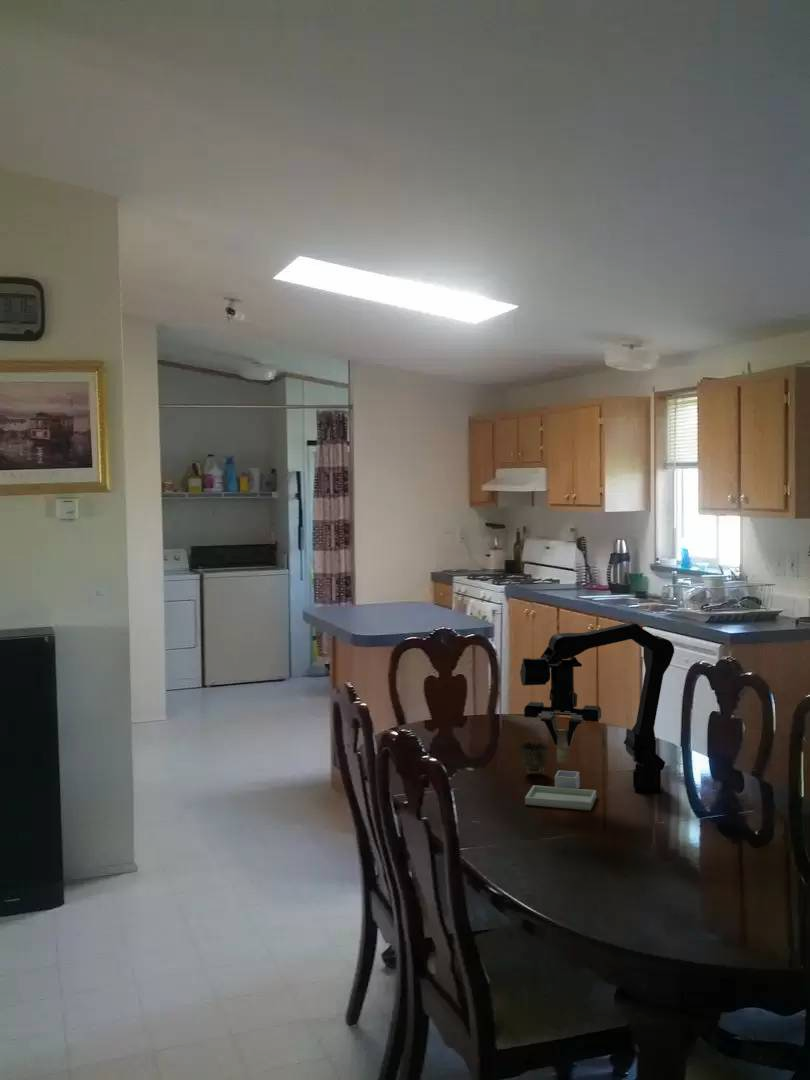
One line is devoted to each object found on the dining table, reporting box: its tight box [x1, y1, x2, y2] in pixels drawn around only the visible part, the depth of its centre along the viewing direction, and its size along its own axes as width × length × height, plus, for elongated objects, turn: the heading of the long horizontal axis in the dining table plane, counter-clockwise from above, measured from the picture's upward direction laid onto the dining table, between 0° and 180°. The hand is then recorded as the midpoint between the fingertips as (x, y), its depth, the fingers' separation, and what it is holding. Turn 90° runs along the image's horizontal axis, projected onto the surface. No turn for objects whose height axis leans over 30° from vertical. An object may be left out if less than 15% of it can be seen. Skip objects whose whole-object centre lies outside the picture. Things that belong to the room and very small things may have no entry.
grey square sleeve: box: [554, 769, 581, 789], centre depth 241 cm, size 6×6×4 cm
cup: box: [519, 741, 548, 776], centre depth 255 cm, size 8×7×8 cm
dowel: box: [556, 728, 570, 765], centre depth 236 cm, size 3×3×8 cm
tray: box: [524, 785, 597, 811], centre depth 232 cm, size 16×10×2 cm, turn 71°
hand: (562, 745), depth 236 cm, fingers closed on dowel, 3 cm apart
